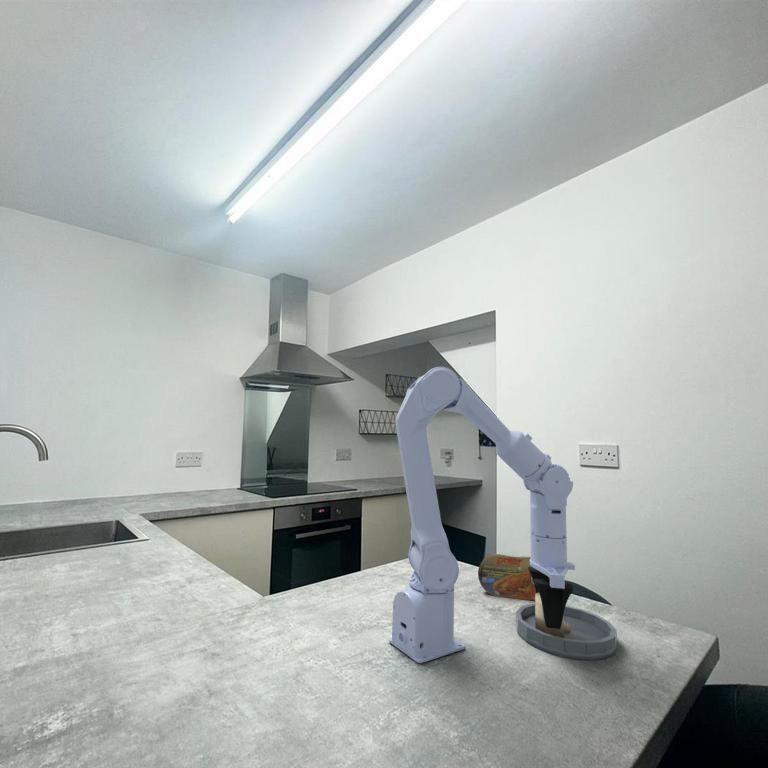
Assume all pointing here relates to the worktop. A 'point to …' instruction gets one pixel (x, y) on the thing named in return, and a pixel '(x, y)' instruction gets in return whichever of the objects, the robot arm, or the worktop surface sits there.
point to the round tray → (570, 634)
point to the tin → (507, 576)
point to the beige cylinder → (541, 622)
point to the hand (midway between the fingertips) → (549, 620)
